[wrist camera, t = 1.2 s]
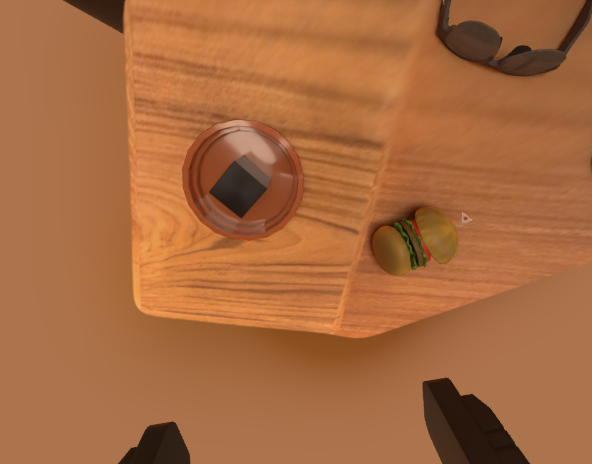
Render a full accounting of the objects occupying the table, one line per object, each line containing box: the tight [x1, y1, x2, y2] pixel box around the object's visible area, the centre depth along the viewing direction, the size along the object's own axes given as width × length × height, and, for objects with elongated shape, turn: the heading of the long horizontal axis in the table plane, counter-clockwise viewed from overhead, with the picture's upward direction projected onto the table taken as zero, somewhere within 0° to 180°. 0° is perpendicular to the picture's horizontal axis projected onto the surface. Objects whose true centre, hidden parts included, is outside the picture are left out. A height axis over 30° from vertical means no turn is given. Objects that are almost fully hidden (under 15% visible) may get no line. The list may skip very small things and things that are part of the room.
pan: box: [182, 119, 304, 241], centre depth 38 cm, size 14×14×4 cm
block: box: [209, 155, 271, 219], centre depth 36 cm, size 4×4×7 cm
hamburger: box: [372, 207, 473, 276], centre depth 39 cm, size 8×7×12 cm
